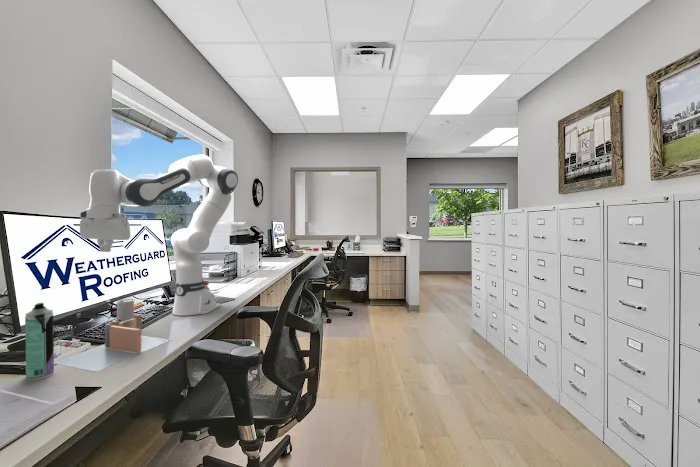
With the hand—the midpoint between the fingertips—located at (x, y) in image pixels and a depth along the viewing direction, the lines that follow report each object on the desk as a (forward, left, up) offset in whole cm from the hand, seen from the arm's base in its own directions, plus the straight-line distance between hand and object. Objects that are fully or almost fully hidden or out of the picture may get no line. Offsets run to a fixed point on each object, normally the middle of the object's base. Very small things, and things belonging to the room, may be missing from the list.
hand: (105, 251), depth 117 cm
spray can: (+28, +14, -31) cm, 44 cm away
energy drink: (-6, +2, -31) cm, 32 cm away
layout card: (+9, +17, -31) cm, 37 cm away
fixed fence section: (+2, +12, -31) cm, 33 cm away
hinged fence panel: (+8, +18, -30) cm, 36 cm away
